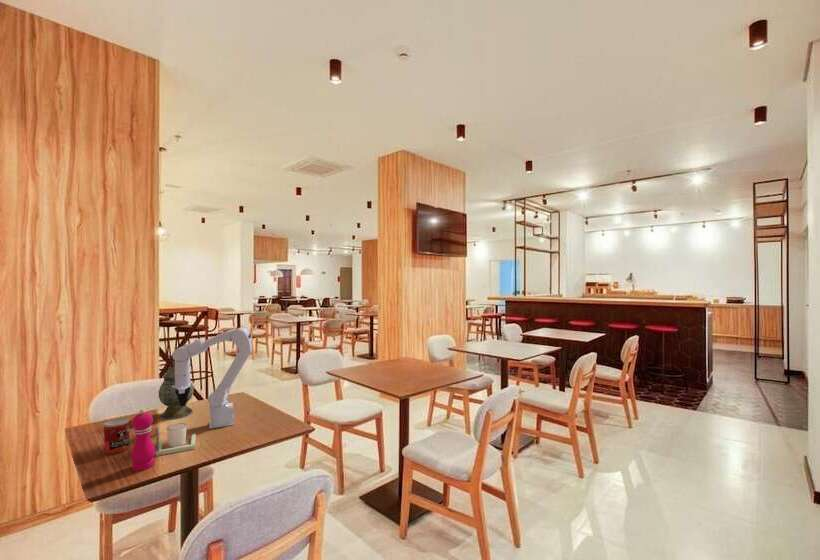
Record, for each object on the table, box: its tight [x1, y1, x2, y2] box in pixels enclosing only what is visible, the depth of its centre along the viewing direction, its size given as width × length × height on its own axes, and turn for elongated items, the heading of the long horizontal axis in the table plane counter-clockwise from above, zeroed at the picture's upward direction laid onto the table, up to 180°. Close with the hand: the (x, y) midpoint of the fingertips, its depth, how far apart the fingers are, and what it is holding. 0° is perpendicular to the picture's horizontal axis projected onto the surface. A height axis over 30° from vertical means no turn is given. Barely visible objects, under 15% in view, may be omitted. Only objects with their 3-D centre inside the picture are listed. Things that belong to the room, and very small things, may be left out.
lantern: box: [158, 362, 195, 421], centre depth 187 cm, size 14×14×25 cm
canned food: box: [103, 417, 130, 455], centre depth 149 cm, size 8×8×11 cm
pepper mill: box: [129, 408, 157, 472], centre depth 136 cm, size 7×7×20 cm
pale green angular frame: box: [150, 427, 197, 457], centre depth 151 cm, size 15×12×10 cm
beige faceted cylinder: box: [166, 422, 188, 448], centre depth 154 cm, size 7×7×7 cm
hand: (183, 405), depth 170 cm, fingers closed
